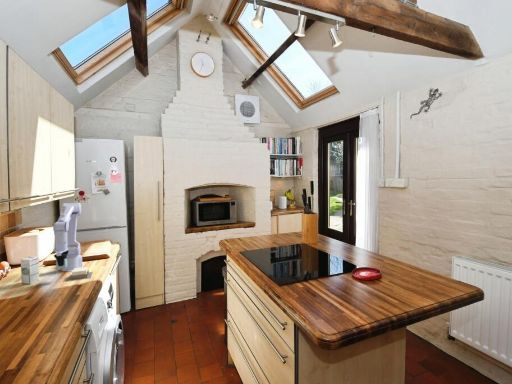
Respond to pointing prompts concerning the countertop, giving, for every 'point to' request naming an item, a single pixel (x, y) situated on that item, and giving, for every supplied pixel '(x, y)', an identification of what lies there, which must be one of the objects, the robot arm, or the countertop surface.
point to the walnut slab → (80, 276)
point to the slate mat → (81, 278)
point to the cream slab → (79, 271)
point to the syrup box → (29, 270)
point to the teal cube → (63, 265)
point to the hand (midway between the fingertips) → (62, 264)
